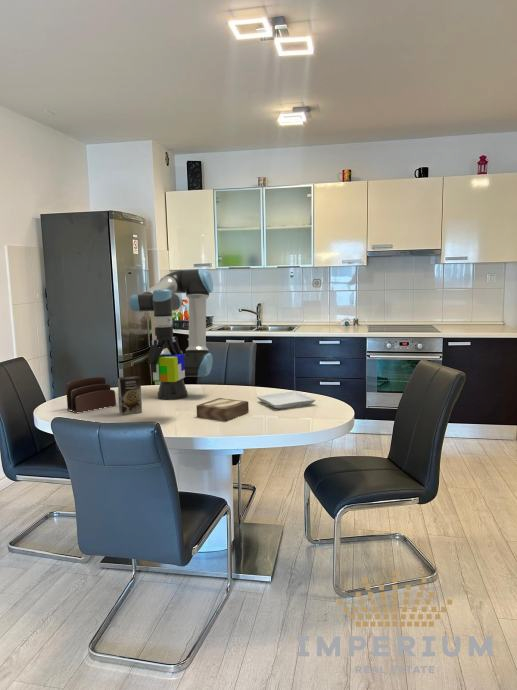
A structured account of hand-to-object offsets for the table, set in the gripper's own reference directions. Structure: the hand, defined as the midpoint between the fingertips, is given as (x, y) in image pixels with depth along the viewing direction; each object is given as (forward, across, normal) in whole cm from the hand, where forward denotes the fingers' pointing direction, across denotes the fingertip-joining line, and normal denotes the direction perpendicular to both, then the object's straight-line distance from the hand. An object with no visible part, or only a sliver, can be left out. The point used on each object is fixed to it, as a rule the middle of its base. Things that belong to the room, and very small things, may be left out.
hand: (166, 377), depth 216 cm
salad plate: (+18, +45, -32) cm, 58 cm away
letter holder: (+18, -3, +46) cm, 49 cm away
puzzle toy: (+1, 0, -1) cm, 2 cm away
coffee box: (+18, -1, +22) cm, 28 cm away
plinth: (+18, +15, -18) cm, 29 cm away
